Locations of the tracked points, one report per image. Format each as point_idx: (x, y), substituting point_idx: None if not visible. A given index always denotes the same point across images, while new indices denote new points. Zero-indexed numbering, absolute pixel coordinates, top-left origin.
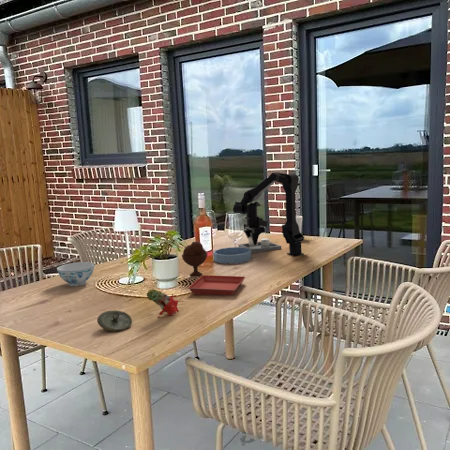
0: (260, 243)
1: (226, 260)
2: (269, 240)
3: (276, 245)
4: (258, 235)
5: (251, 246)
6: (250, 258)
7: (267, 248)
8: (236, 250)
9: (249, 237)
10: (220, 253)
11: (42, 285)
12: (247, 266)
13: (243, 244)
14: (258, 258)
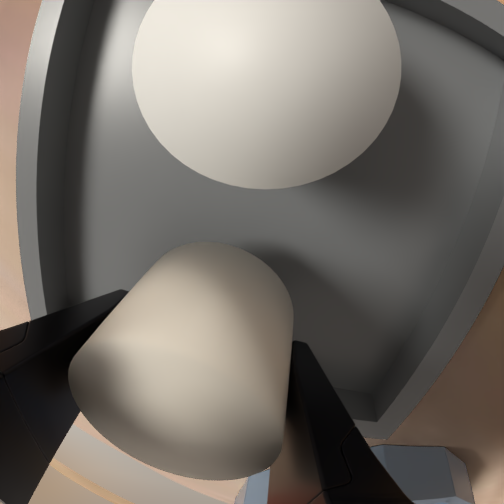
0: (69, 41)
1: None
2: (370, 6)
3: (486, 28)
4: (398, 502)
5: (74, 192)
6: (464, 467)
7: (496, 263)
8: None
9: (143, 453)
10: None
11: None
12: (494, 488)
13: (46, 301)
14: (497, 425)
